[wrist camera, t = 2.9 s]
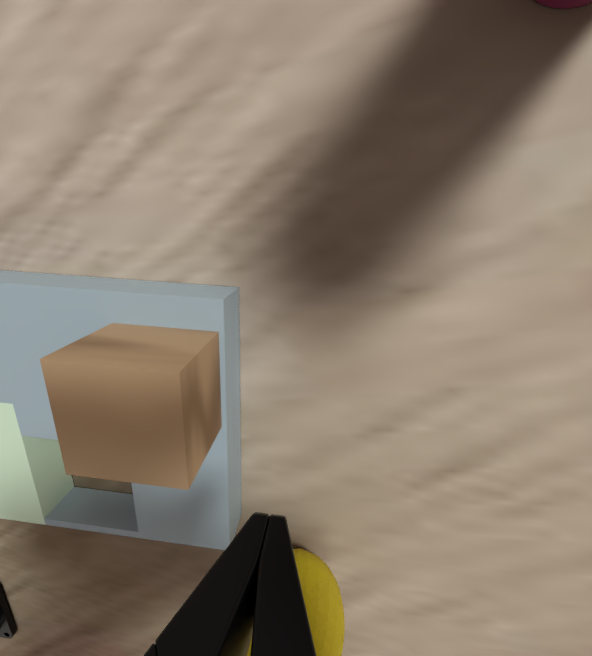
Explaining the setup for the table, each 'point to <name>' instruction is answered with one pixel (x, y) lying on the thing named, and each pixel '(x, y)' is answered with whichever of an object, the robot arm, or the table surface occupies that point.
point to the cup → (564, 3)
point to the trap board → (38, 425)
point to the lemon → (320, 603)
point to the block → (136, 403)
